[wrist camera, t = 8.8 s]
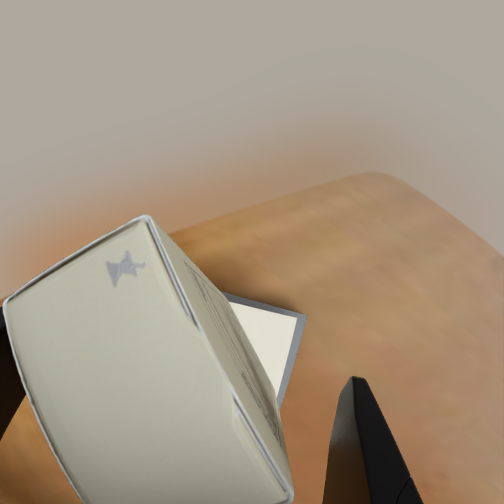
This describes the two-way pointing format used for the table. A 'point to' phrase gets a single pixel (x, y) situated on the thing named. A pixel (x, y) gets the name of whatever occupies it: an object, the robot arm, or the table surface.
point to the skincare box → (146, 377)
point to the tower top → (268, 338)
